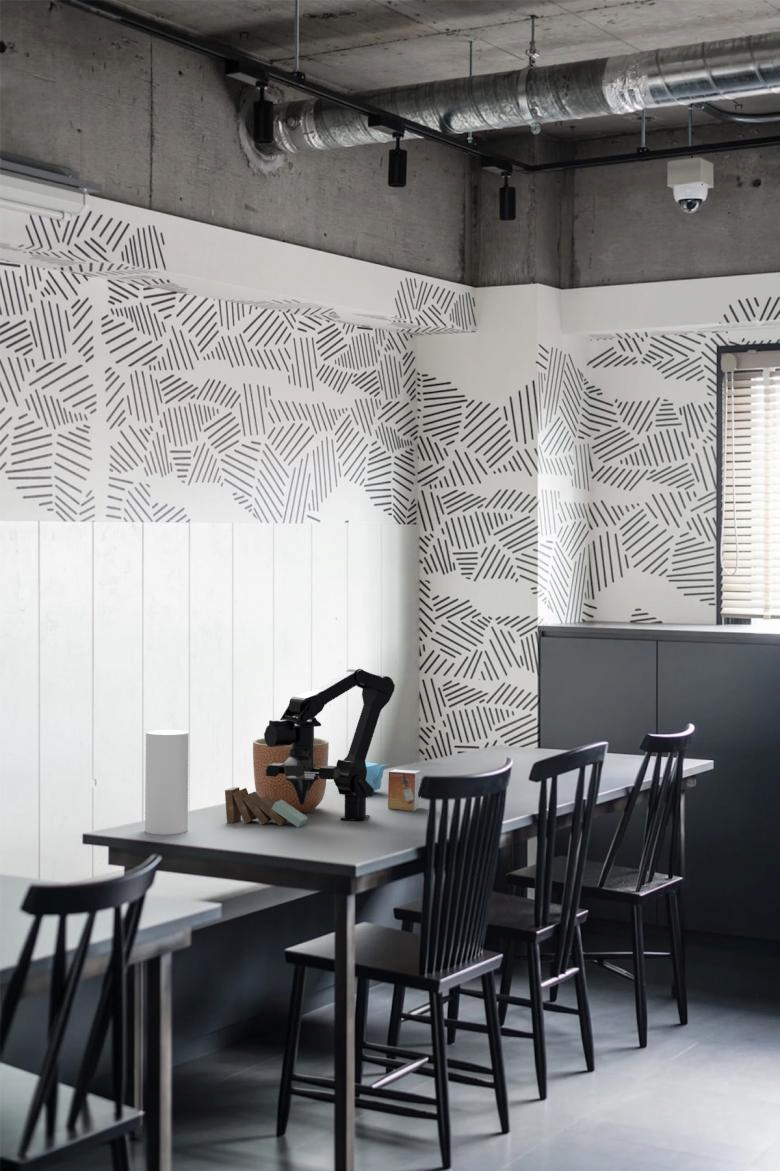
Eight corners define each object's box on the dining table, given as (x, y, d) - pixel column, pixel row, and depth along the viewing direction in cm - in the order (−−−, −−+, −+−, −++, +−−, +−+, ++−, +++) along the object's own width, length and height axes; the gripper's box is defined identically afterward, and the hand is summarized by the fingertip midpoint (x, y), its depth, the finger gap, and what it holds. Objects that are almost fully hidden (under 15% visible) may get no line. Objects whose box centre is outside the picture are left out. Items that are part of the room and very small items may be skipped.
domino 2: (244, 823, 373) (232, 793, 374) (251, 820, 378) (239, 790, 379) (251, 821, 373) (238, 790, 374) (258, 817, 378) (246, 787, 378)
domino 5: (297, 827, 369) (271, 808, 371) (304, 823, 374) (278, 805, 376) (301, 820, 369) (275, 802, 371) (308, 817, 374) (281, 799, 376)
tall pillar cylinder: (187, 826, 369) (188, 729, 368) (188, 834, 358) (188, 734, 358) (145, 827, 367) (146, 729, 367) (144, 835, 357) (145, 734, 356)
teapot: (324, 793, 424) (324, 759, 423) (347, 787, 436) (348, 754, 436) (378, 798, 415) (378, 764, 415) (400, 792, 428) (400, 758, 427)
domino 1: (226, 822, 375) (224, 790, 375) (234, 819, 380) (232, 787, 380) (233, 822, 374) (231, 790, 374) (241, 819, 379) (239, 787, 379)
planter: (268, 801, 408) (269, 735, 407) (337, 806, 402) (338, 738, 402) (240, 814, 388) (241, 744, 387) (313, 818, 382) (314, 747, 382)
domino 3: (262, 824, 372) (242, 798, 373) (269, 821, 377) (249, 796, 378) (267, 820, 372) (248, 794, 373) (274, 817, 376) (255, 791, 378)
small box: (387, 809, 398) (387, 771, 398) (393, 806, 403) (394, 768, 403) (414, 811, 395) (415, 773, 395) (420, 807, 401) (421, 770, 400)
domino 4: (279, 826, 371) (255, 804, 372) (286, 822, 375) (262, 801, 377) (284, 820, 370) (260, 798, 372) (290, 817, 375) (267, 795, 377)
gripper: (257, 746, 366) (257, 807, 366) (327, 749, 361) (326, 811, 361) (273, 741, 377) (273, 800, 377) (340, 744, 372) (340, 804, 372)
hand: (302, 804), depth 371 cm, fingers closed
